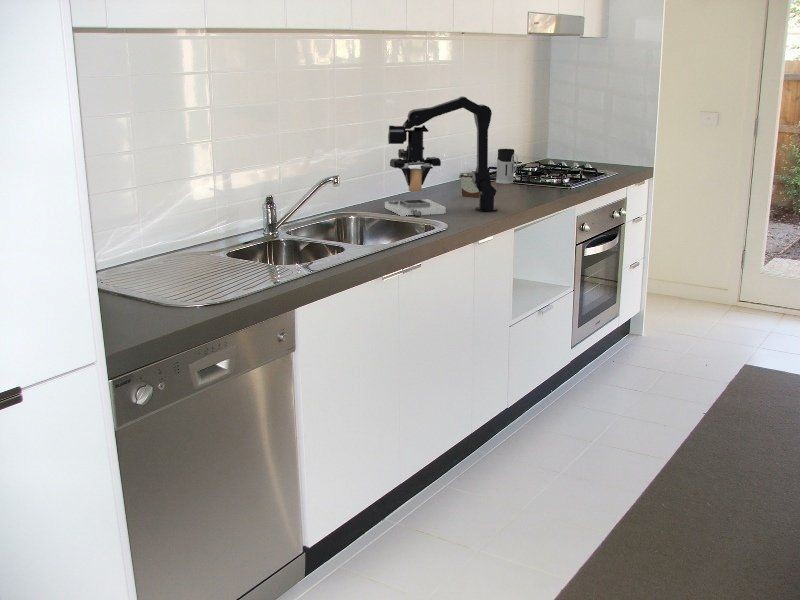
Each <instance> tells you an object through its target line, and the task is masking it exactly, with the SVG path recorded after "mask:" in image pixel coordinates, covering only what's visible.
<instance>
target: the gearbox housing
mask: <svg viewBox="0 0 800 600" xmlns="http://www.w3.org/2000/svg"><path fill="white" fill-rule="evenodd" d="M384 208H385V209H386V210H388V211H390V212H391V211H392V213H393V212H394V214H395V213H396V214H395V215H397V214H398V215H397V216H399V215H400V216H399V217H409V216H408V215H415V216H417V217H420V216H428V215H430V214H431V215H445V214H446V209H447V208H446V206H444V205H441V204H440V203H438V202H435V201H433V200H431V199H428V198H427V199H422V198H420V199H419V198H417V199H416V198H415V199H400V200H397V199H396V200H395V199H390V200H388V201H384ZM444 213H445V214H444ZM406 215H407V216H406ZM431 215H430V216H431Z"/></svg>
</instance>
